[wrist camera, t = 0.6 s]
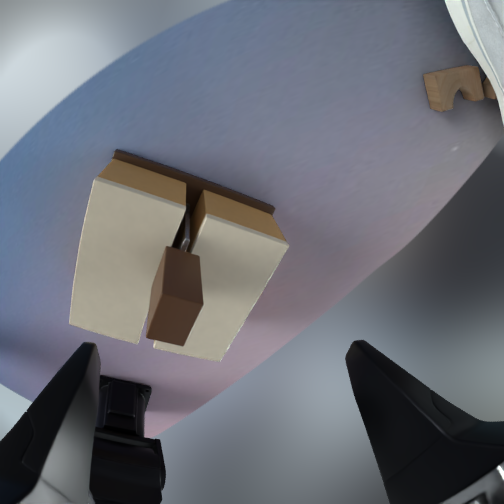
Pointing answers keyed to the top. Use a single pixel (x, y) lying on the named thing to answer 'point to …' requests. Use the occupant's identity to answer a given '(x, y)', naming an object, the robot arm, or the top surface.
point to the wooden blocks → (456, 86)
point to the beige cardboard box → (163, 234)
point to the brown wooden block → (176, 290)
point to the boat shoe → (483, 37)
